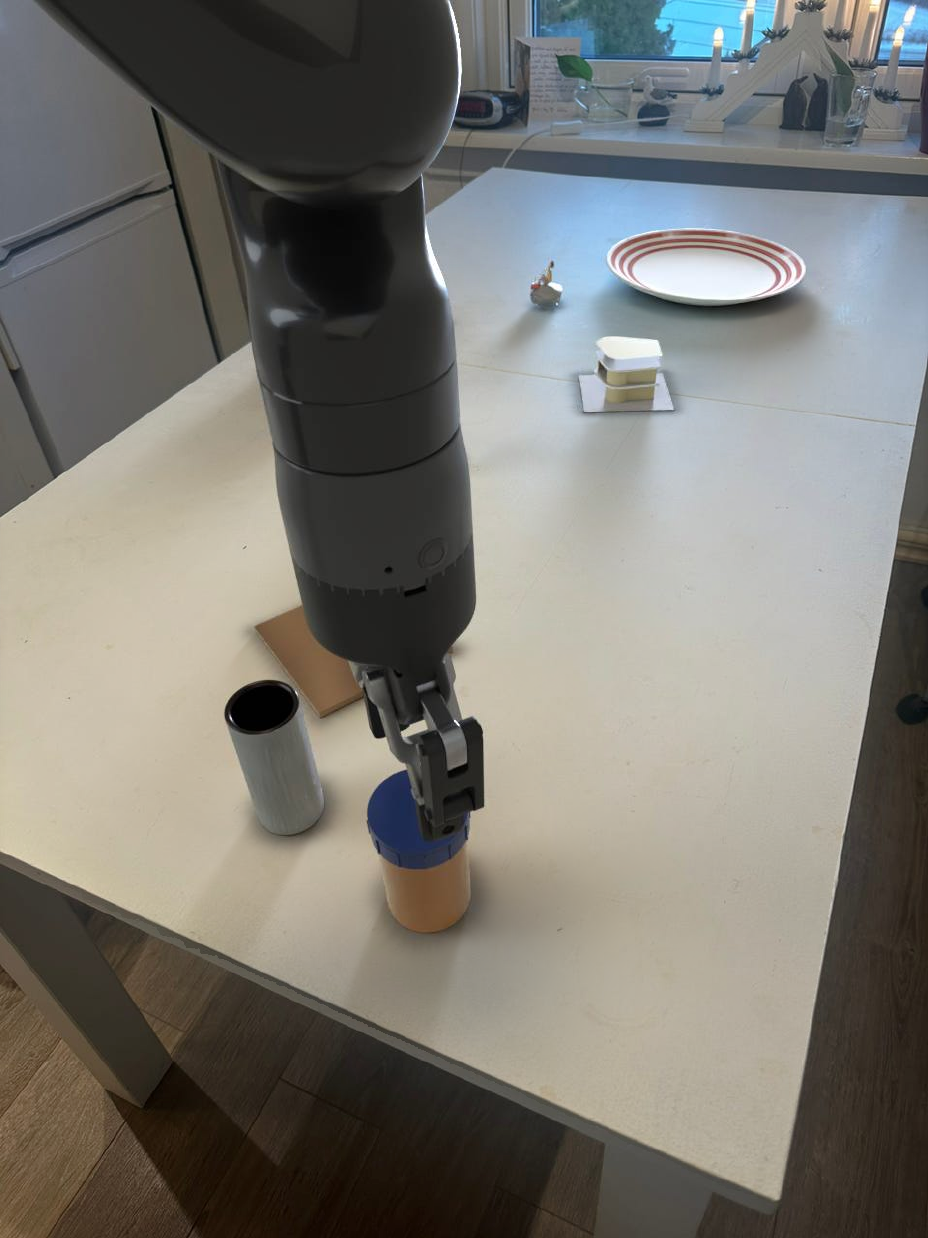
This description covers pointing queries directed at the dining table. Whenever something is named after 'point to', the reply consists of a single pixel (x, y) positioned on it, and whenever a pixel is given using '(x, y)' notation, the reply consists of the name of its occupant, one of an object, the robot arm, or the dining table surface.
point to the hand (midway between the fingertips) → (415, 777)
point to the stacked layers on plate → (626, 377)
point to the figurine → (546, 290)
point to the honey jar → (428, 893)
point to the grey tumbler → (275, 755)
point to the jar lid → (406, 828)
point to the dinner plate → (705, 266)
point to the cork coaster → (310, 662)
